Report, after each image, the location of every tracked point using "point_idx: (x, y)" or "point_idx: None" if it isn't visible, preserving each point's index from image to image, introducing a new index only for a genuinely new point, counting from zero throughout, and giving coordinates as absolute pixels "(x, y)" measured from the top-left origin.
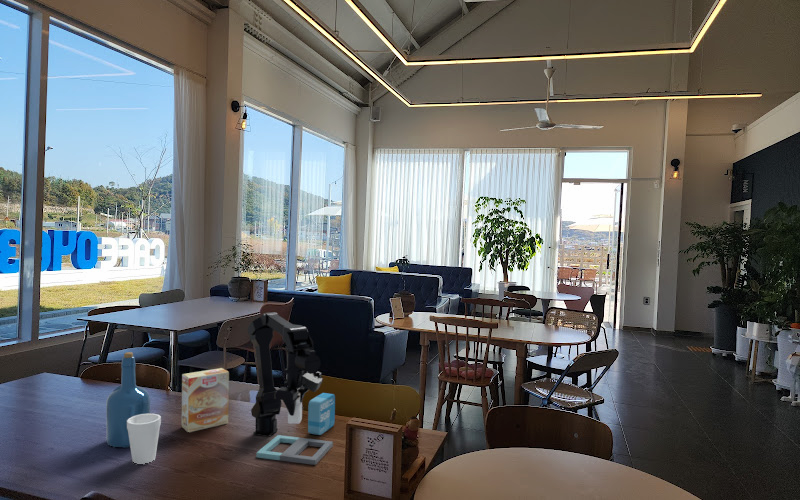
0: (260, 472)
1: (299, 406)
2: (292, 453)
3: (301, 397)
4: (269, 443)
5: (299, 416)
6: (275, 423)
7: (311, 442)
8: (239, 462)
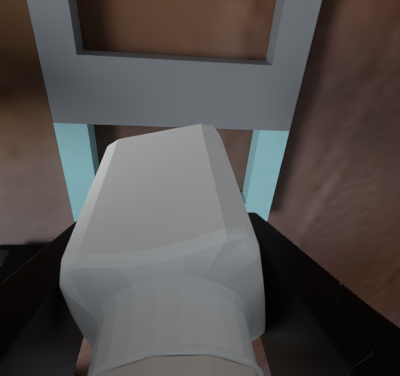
0: (392, 148)
1: (248, 233)
2: (260, 80)
3: (9, 359)
4: None
5: (221, 152)
6: (10, 273)
7: (74, 29)
8: (305, 238)
